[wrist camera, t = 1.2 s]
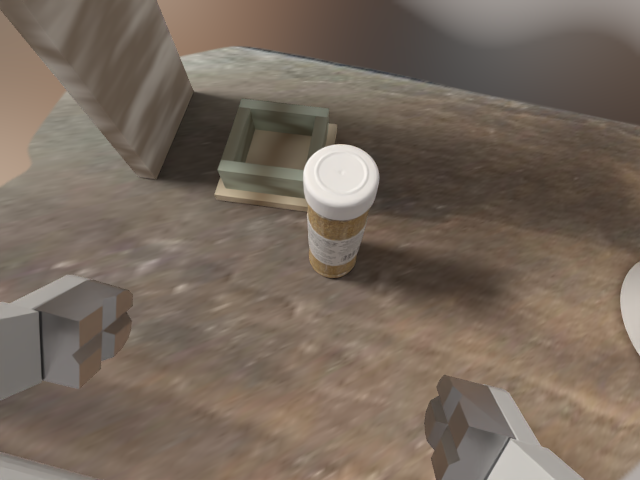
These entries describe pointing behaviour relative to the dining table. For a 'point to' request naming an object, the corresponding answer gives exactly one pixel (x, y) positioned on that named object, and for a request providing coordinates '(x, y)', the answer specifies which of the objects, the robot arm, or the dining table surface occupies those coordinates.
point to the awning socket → (165, 97)
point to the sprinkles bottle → (338, 205)
